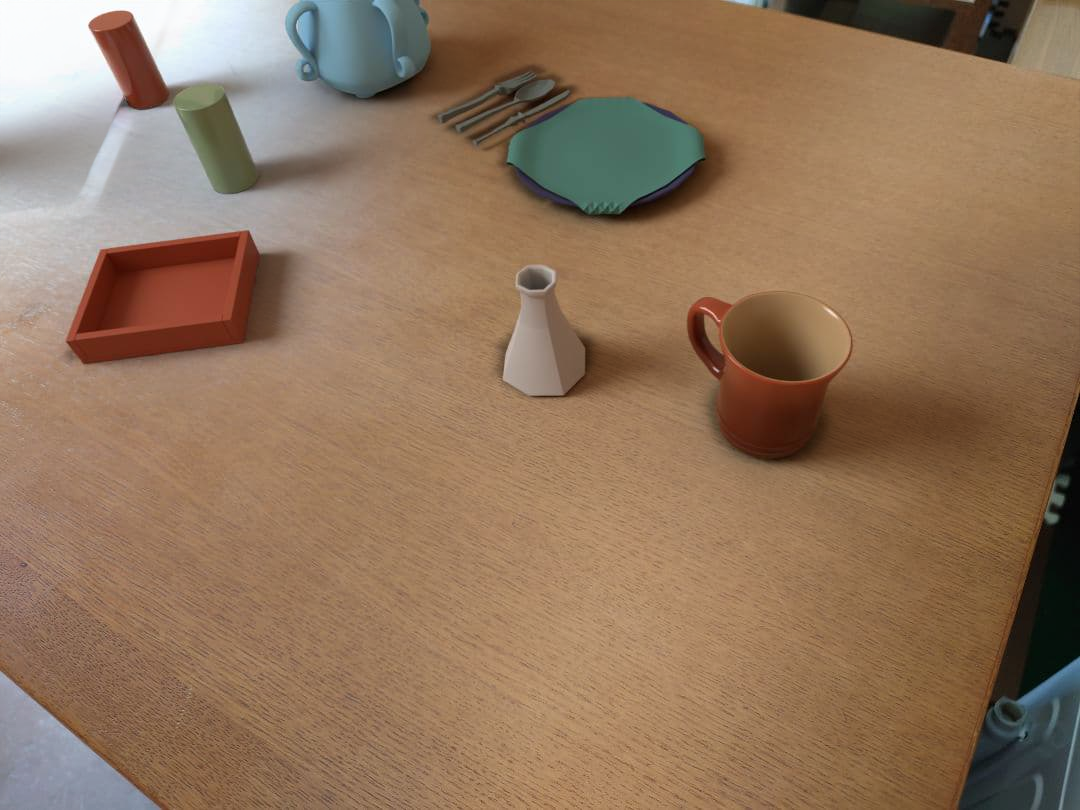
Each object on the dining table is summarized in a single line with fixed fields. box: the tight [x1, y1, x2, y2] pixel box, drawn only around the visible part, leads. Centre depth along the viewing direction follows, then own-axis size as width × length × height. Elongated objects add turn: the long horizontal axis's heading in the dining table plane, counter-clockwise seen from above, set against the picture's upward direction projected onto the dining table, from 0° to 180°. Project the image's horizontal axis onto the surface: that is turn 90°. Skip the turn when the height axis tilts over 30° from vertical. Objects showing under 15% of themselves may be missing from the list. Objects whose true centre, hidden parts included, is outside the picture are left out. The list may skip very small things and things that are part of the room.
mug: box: [686, 290, 854, 460], centre depth 57 cm, size 12×9×10 cm
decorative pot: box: [284, 0, 432, 99], centre depth 95 cm, size 16×16×14 cm
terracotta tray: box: [65, 229, 260, 365], centre depth 73 cm, size 15×13×3 cm
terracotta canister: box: [87, 10, 170, 110], centre depth 96 cm, size 5×5×10 cm
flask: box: [502, 264, 586, 397], centre depth 62 cm, size 7×7×10 cm
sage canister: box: [172, 82, 259, 195], centre depth 83 cm, size 5×5×10 cm
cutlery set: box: [437, 70, 707, 216], centre depth 85 cm, size 20×30×2 cm, turn 41°
